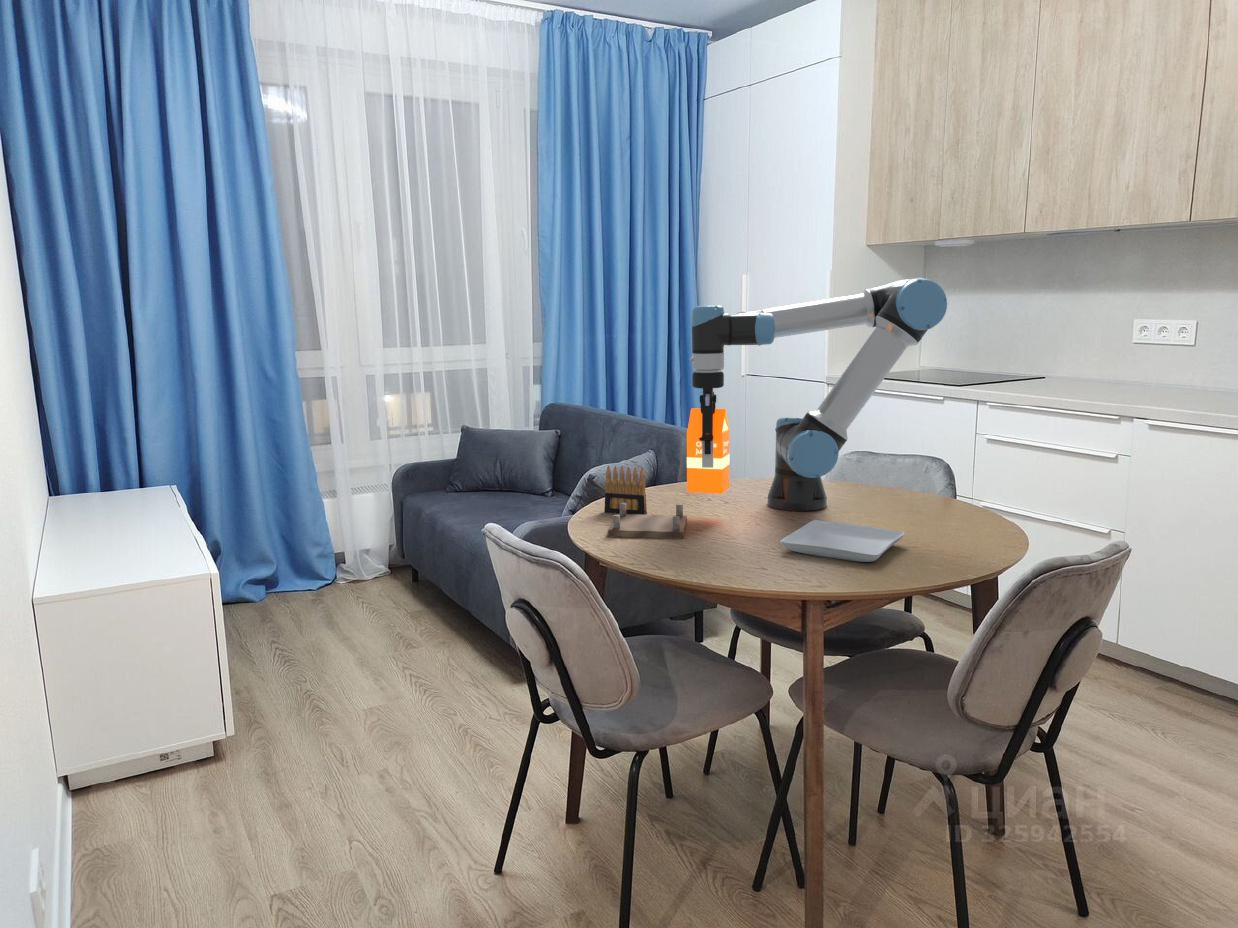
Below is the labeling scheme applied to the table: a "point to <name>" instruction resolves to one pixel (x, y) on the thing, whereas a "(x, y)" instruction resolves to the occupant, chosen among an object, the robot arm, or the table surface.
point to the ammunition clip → (633, 495)
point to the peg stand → (648, 524)
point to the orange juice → (719, 474)
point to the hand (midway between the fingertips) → (708, 463)
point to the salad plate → (841, 540)
